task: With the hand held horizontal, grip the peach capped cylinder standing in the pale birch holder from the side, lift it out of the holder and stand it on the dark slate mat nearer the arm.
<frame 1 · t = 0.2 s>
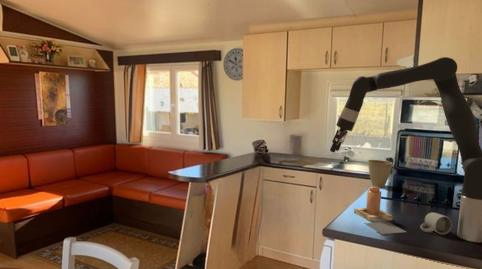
hand: (334, 150, 158), 31 cm above the countertop, tool tilted 20°, fingers open, 8 cm apart
mat: (384, 228, 144), on the countertop
plant pot: (378, 186, 221), on the countertop
ceramic mug: (434, 231, 143), on the countertop
holder: (372, 217, 158), on the countertop
peach capped cylinder: (372, 216, 158), resting on holder
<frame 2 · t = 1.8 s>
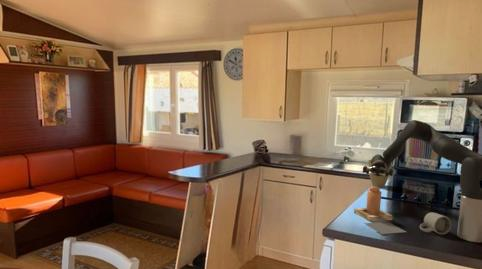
hand: (376, 173, 167), 19 cm above the countertop, tool horizontal, fingers open, 8 cm apart
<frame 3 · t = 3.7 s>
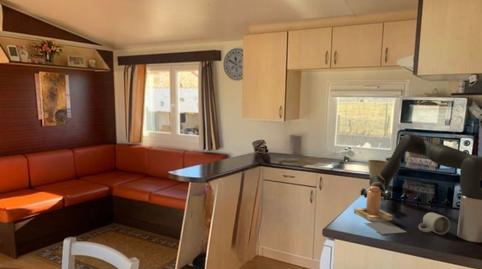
hand: (375, 197, 164), 8 cm above the countertop, tool horizontal, fingers open, 8 cm apart
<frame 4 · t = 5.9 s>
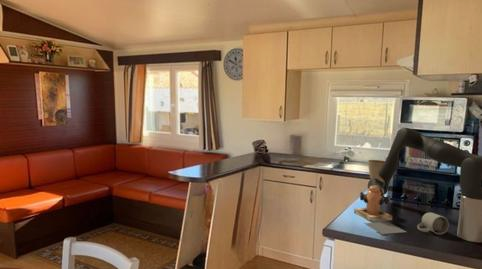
hand: (373, 201, 155), 8 cm above the countertop, tool horizontal, fingers closed on peach capped cylinder, 6 cm apart
peach capped cylinder: (372, 216, 158), point 1 cm above the countertop, touching gripper, holder
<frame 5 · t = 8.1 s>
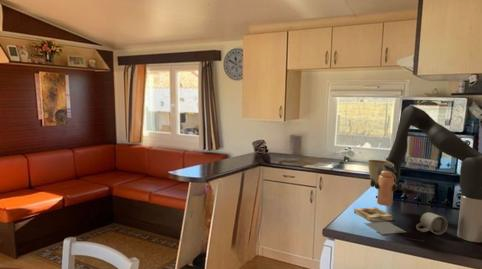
hand: (385, 188, 142), 18 cm above the countertop, tool horizontal, fingers closed on peach capped cylinder, 6 cm apart
peach capped cylinder: (384, 203, 145), point 10 cm above the countertop, touching gripper
when the fingers open (9 cm above the countertop, at t = 10.5 s): peach capped cylinder drops 1 cm, resting on mat.
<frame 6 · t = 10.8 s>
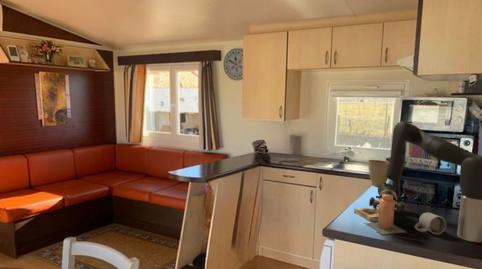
hand: (386, 208, 141), 10 cm above the countertop, tool horizontal, fingers open, 8 cm apart
peach capped cylinder: (384, 227, 144), point 1 cm above the countertop, touching mat
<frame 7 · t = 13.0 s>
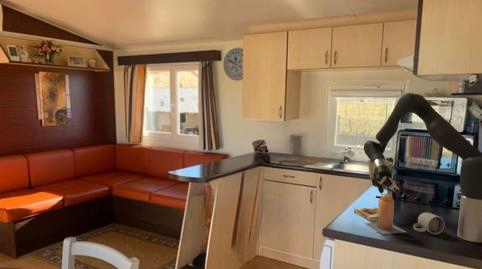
hand: (390, 194, 156), 11 cm above the countertop, tool tilted 55°, fingers open, 8 cm apart
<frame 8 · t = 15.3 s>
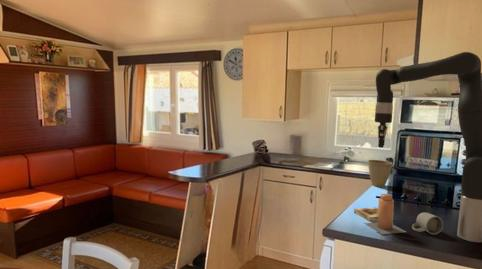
hand: (381, 146, 160), 33 cm above the countertop, tool pointing down, fingers open, 8 cm apart
at the end: peach capped cylinder inside the target area on the mat (0.1 cm from its centre), point 0.7 cm above the mat's base; peach capped cylinder tilted 2°; the gripper is holding nothing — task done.
